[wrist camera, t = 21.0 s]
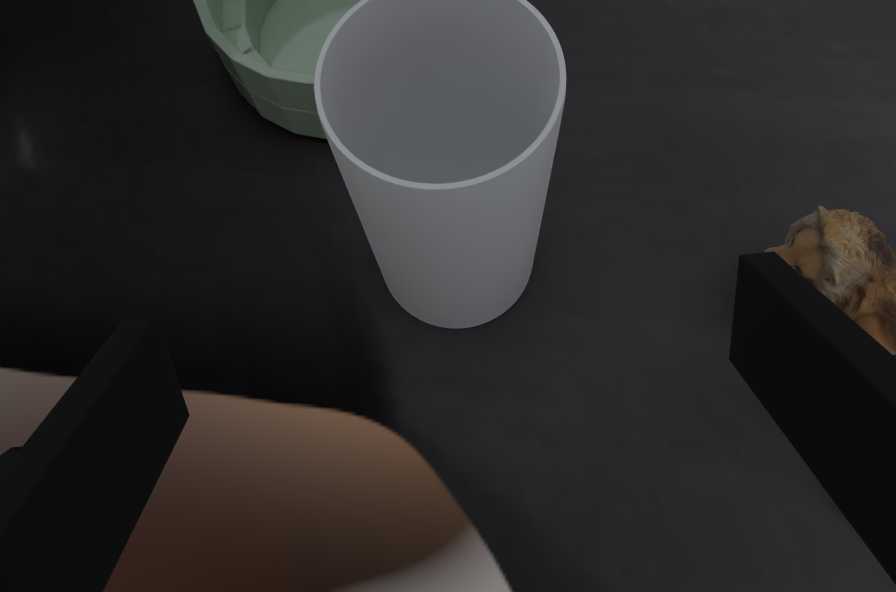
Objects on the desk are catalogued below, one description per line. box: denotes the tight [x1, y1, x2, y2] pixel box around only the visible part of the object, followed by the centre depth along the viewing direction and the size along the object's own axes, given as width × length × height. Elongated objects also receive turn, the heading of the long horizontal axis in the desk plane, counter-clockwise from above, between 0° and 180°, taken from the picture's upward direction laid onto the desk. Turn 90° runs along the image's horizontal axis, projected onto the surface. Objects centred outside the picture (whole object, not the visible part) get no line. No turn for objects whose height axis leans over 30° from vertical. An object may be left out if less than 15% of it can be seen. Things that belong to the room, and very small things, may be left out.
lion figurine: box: [765, 206, 896, 355], centre depth 30 cm, size 15×5×9 cm, turn 25°
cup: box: [314, 0, 566, 329], centre depth 30 cm, size 8×8×16 cm
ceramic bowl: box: [193, 0, 361, 139], centre depth 39 cm, size 14×14×6 cm
